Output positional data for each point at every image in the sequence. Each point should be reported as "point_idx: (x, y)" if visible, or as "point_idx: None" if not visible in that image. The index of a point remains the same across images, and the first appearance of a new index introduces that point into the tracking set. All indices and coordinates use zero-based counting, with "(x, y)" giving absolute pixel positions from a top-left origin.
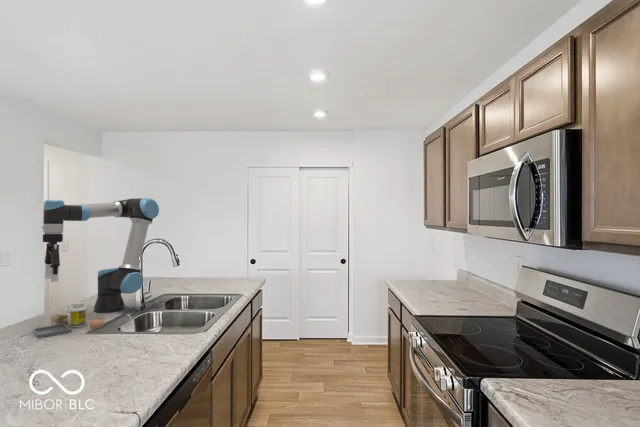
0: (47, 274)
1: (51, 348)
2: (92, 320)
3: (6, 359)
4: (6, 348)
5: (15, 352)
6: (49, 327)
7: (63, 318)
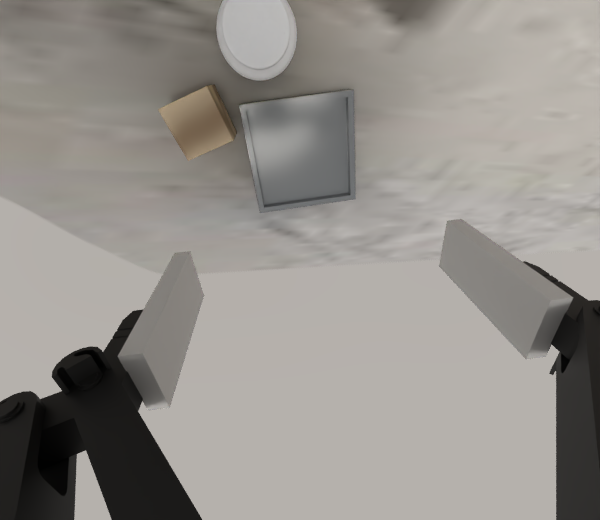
0: (193, 306)
1: (494, 164)
2: None
3: None
4: (392, 260)
5: None
6: (255, 161)
7: (219, 108)
